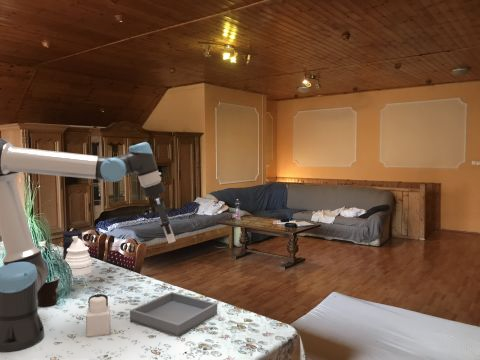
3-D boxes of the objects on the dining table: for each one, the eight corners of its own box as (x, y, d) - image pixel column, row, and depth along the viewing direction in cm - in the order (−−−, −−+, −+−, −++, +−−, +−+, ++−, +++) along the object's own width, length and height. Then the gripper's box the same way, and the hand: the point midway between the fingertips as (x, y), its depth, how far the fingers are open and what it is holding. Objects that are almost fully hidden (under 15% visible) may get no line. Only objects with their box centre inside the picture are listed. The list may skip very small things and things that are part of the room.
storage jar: (84, 260, 216) (83, 233, 215) (64, 262, 211) (63, 234, 210) (81, 256, 224) (80, 229, 223) (62, 258, 219) (61, 231, 218)
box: (130, 321, 140) (130, 310, 139) (171, 301, 158) (171, 291, 158) (178, 337, 128) (178, 325, 128) (217, 314, 147) (217, 303, 147)
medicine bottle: (87, 327, 134) (87, 293, 133) (110, 325, 136) (109, 291, 135) (86, 337, 127) (85, 300, 127) (109, 334, 130) (109, 298, 129)
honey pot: (83, 276, 188) (82, 239, 186) (58, 275, 190) (57, 238, 188) (96, 269, 200) (96, 233, 199) (73, 267, 202) (72, 232, 201)
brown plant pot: (49, 309, 149) (49, 283, 148) (29, 307, 151) (29, 281, 150) (69, 298, 160) (68, 274, 160) (50, 296, 162) (49, 272, 162)
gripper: (164, 183, 133) (183, 241, 137) (160, 178, 158) (177, 228, 161) (142, 190, 132) (162, 249, 135) (141, 184, 156) (159, 234, 159)
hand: (170, 238), depth 148 cm, fingers open, 13 cm apart
